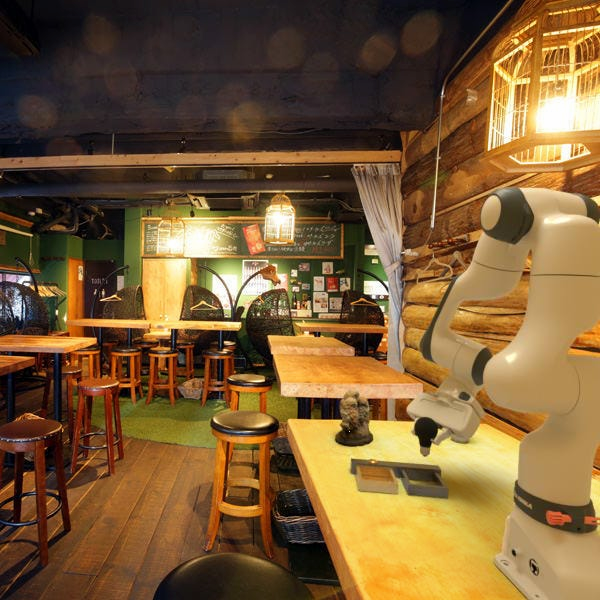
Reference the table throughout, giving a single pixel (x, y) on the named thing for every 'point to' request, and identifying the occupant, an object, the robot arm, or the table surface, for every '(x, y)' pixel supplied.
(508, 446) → the table surface
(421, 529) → the table surface
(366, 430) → the carved stone statue
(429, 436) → the light bulb
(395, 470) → the rail
